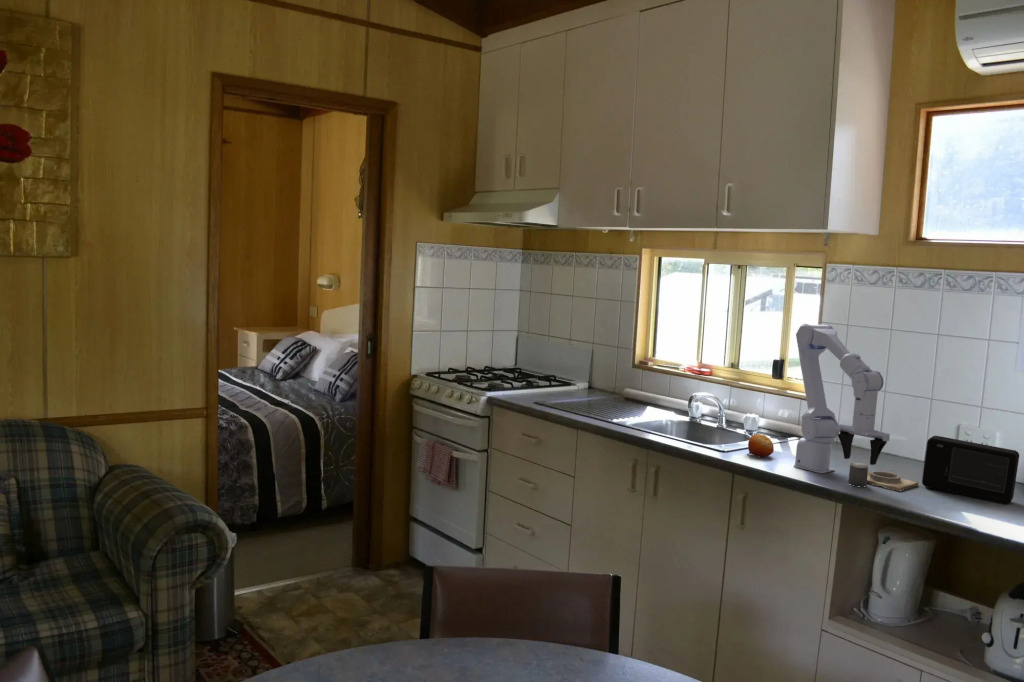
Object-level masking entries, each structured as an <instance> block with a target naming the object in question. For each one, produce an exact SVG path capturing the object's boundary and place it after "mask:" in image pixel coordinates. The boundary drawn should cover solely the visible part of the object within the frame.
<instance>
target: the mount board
mask: <svg viewBox="0 0 1024 682" xmlns="http://www.w3.org/2000/svg"><path fill="white" fill-rule="evenodd" d="M867 483H869V484H868V485H870V484H873V485H872V486H874V485H877V486H876V487H878V486H882V487H886V488H890V489H894V490H897V491H896V492H898V491H900V490H903V489H906V490H908V489H907V488H910V489H912V488H911V487H913V488H915V487H914V486H916V487H919V482H917V481H914V480H909V479H905V478H902V477H901V475H899V474H897V473H893V472H889V471H882V470H872V471H868V476H867ZM882 487H881V488H882ZM886 488H885V489H886ZM890 489H889V490H890ZM894 490H893V491H894ZM903 491H904V490H903ZM900 492H901V491H900Z"/></svg>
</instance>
